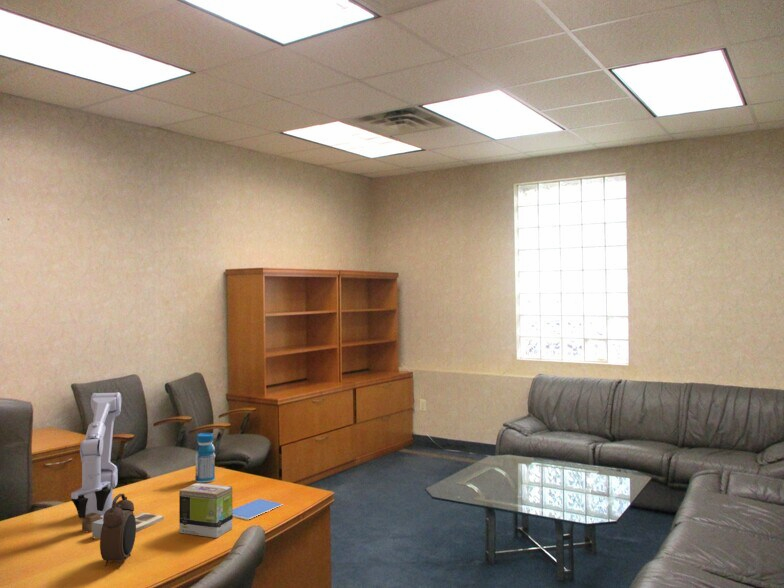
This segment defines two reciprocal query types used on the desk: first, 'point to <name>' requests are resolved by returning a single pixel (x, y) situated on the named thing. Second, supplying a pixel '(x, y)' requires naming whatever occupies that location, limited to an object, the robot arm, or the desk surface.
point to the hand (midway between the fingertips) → (91, 514)
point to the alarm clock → (118, 531)
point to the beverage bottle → (205, 458)
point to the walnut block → (89, 521)
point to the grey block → (97, 528)
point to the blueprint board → (146, 520)
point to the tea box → (205, 510)
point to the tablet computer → (254, 509)
